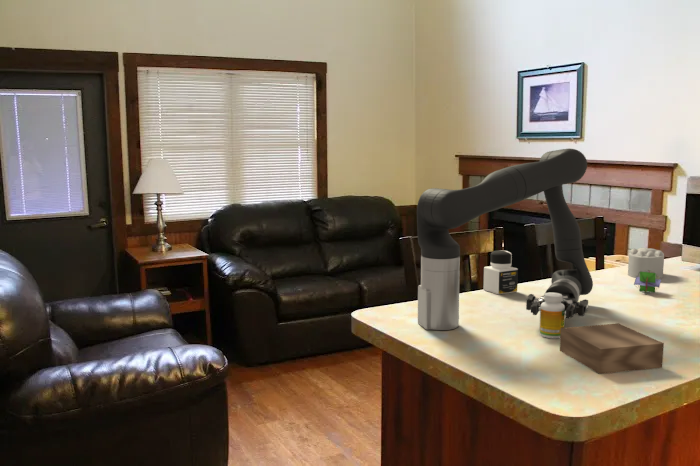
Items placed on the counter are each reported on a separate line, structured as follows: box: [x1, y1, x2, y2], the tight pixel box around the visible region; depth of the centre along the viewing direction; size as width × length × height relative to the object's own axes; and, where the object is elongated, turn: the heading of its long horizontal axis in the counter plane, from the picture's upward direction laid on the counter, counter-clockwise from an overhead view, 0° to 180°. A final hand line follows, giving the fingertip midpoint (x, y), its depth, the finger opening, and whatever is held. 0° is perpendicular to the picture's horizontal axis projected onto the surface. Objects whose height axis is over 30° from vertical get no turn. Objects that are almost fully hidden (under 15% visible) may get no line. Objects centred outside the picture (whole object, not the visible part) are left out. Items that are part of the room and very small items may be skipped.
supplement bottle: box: [539, 292, 566, 340], centre depth 146 cm, size 5×5×10 cm
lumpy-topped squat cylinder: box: [627, 247, 665, 279], centre depth 207 cm, size 10×13×9 cm
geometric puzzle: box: [633, 270, 662, 295], centre depth 185 cm, size 7×7×8 cm
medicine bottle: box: [483, 249, 519, 296], centre depth 188 cm, size 7×7×12 cm
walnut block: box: [559, 322, 665, 375], centre depth 130 cm, size 14×14×5 cm
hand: (550, 312), depth 143 cm, fingers open, 6 cm apart
